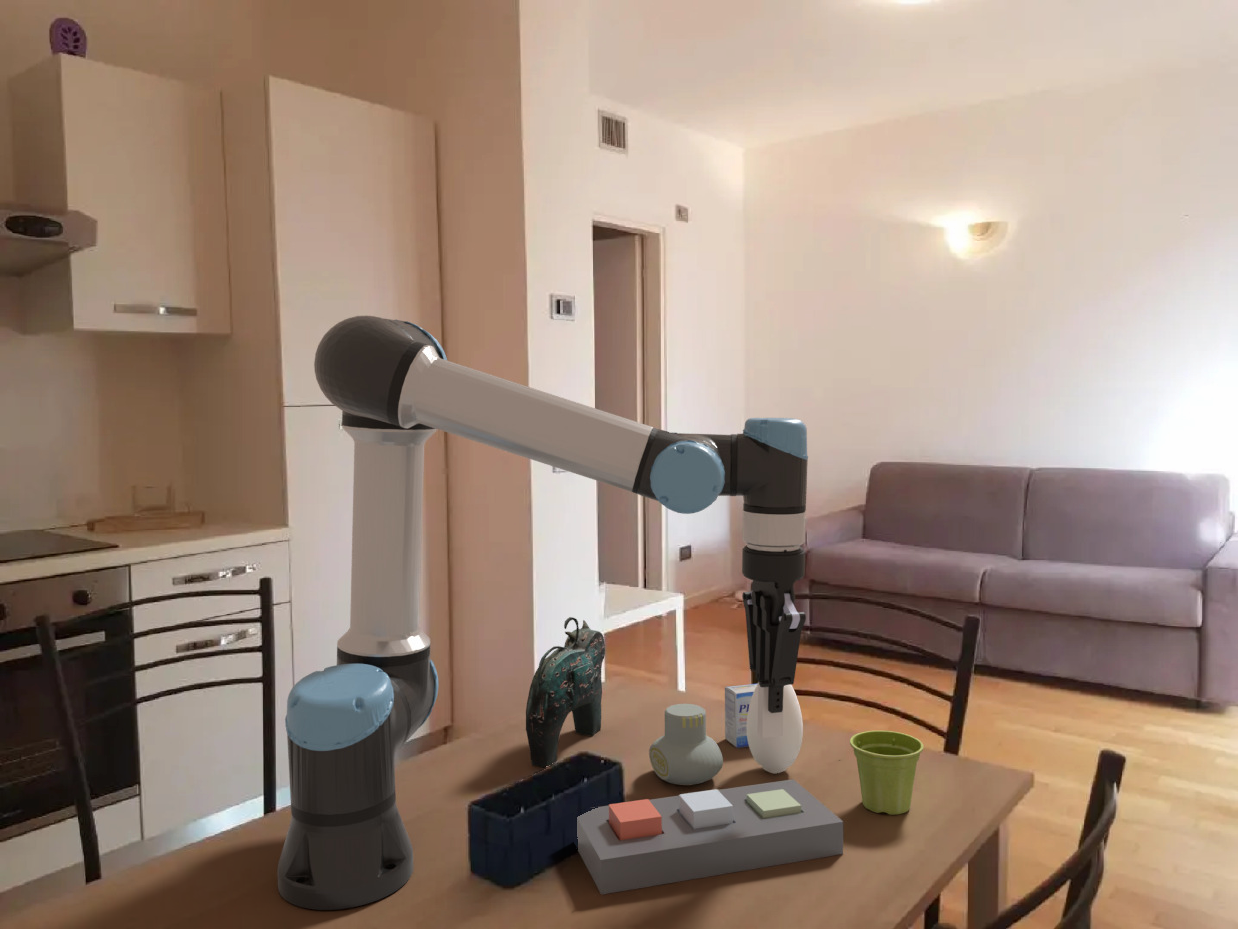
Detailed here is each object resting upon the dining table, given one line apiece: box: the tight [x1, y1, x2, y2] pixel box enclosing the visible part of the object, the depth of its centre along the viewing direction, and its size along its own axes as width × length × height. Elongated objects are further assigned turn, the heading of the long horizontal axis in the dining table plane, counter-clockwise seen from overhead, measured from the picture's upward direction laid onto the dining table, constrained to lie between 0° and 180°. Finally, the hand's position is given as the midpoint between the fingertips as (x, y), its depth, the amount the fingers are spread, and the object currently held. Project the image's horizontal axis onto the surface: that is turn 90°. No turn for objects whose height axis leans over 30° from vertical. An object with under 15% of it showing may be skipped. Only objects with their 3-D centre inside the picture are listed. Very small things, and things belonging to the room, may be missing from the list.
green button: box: [747, 789, 801, 819], centre depth 120 cm, size 5×5×3 cm
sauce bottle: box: [747, 683, 804, 775], centre depth 140 cm, size 8×8×18 cm
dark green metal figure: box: [525, 616, 606, 768], centre depth 151 cm, size 20×6×20 cm, turn 154°
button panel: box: [577, 779, 844, 895], centre depth 118 cm, size 30×13×4 cm, turn 106°
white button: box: [678, 788, 733, 829], centre depth 118 cm, size 5×5×3 cm
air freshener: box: [648, 703, 724, 786], centre depth 139 cm, size 11×8×10 cm
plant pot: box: [849, 730, 925, 815], centre depth 129 cm, size 9×9×9 cm
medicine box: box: [724, 683, 758, 749], centre depth 153 cm, size 8×4×9 cm, turn 106°
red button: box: [608, 798, 662, 841], centre depth 115 cm, size 5×5×3 cm
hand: (770, 734), depth 120 cm, fingers closed
